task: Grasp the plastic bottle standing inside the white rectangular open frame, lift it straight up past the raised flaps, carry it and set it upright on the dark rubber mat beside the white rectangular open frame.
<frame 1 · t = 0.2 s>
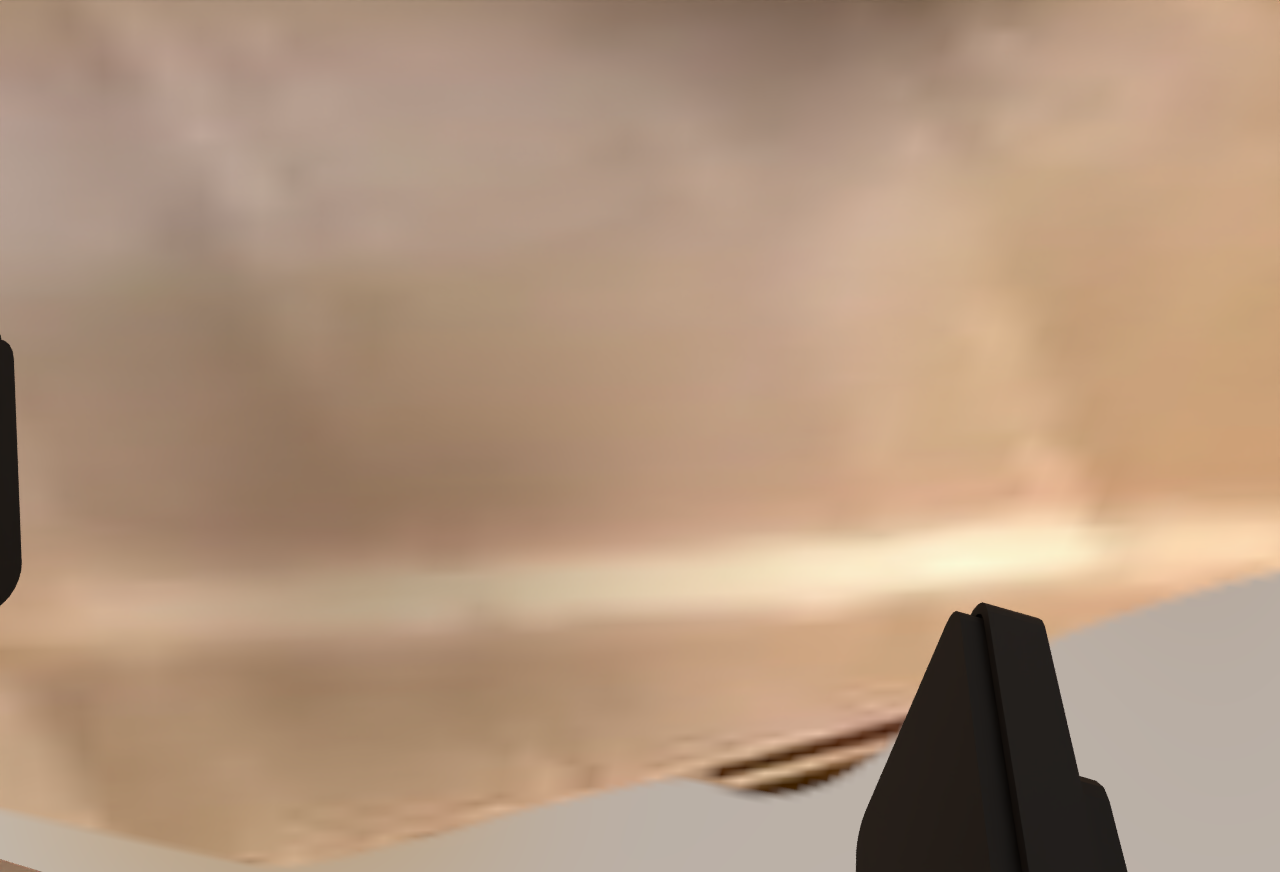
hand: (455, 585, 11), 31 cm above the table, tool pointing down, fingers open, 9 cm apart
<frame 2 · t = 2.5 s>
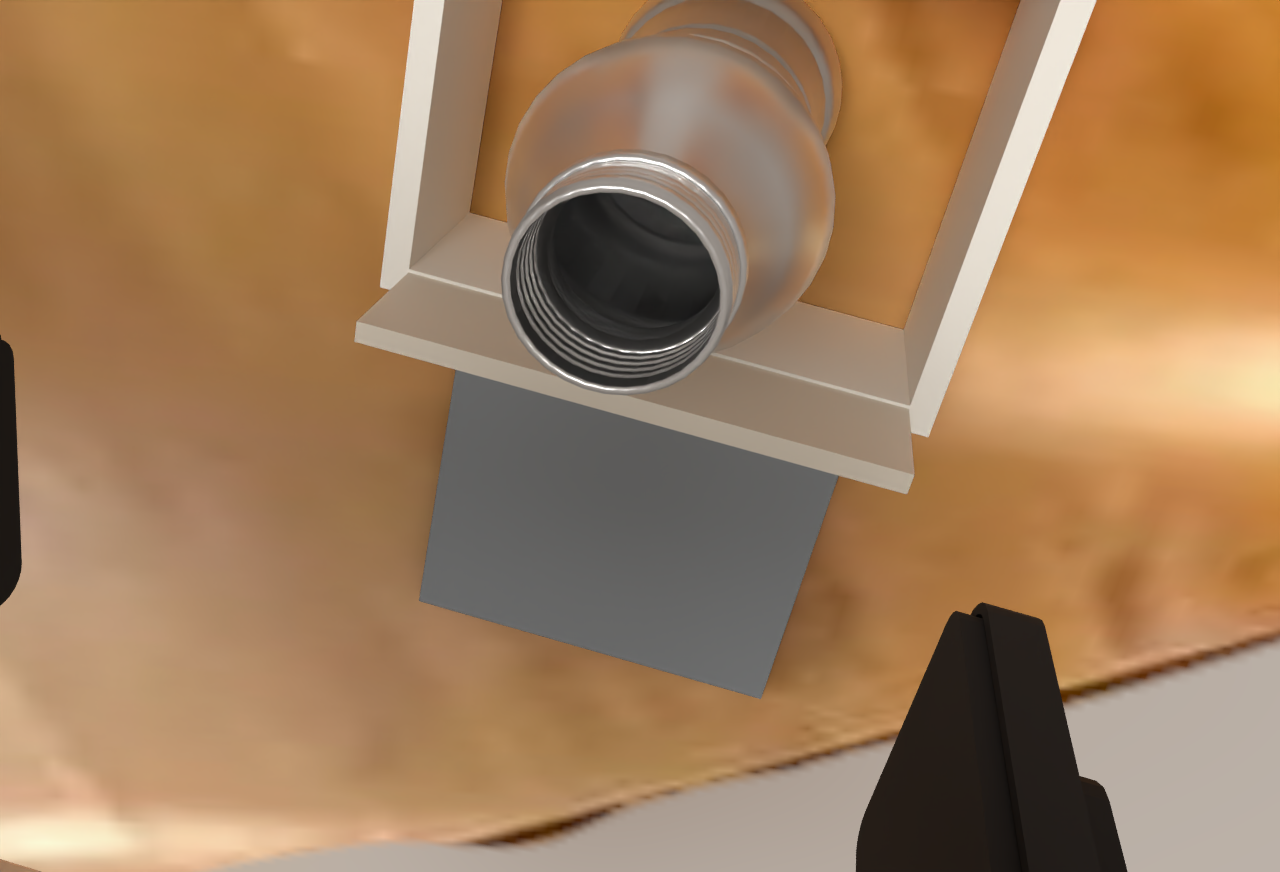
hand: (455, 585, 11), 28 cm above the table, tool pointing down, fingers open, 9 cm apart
plastic bottle: (734, 74, 36), resting in white rectangular open frame
mat: (628, 495, 43), on the table
white rectangular open frame: (733, 75, 36), on the table
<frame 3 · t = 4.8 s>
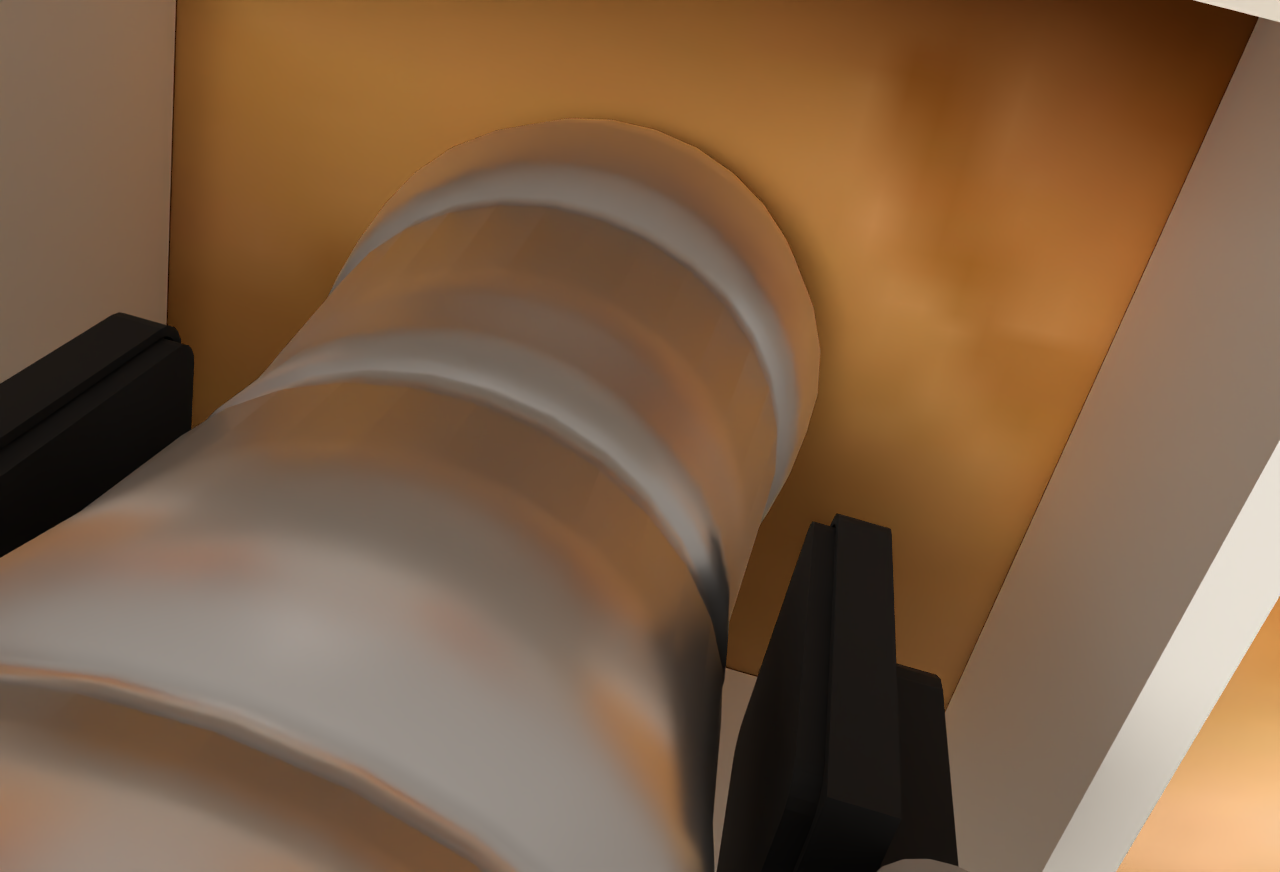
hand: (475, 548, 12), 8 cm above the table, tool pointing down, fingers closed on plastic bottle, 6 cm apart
plastic bottle: (617, 290, 19), resting in white rectangular open frame, touching gripper
white rectangular open frame: (614, 294, 19), on the table
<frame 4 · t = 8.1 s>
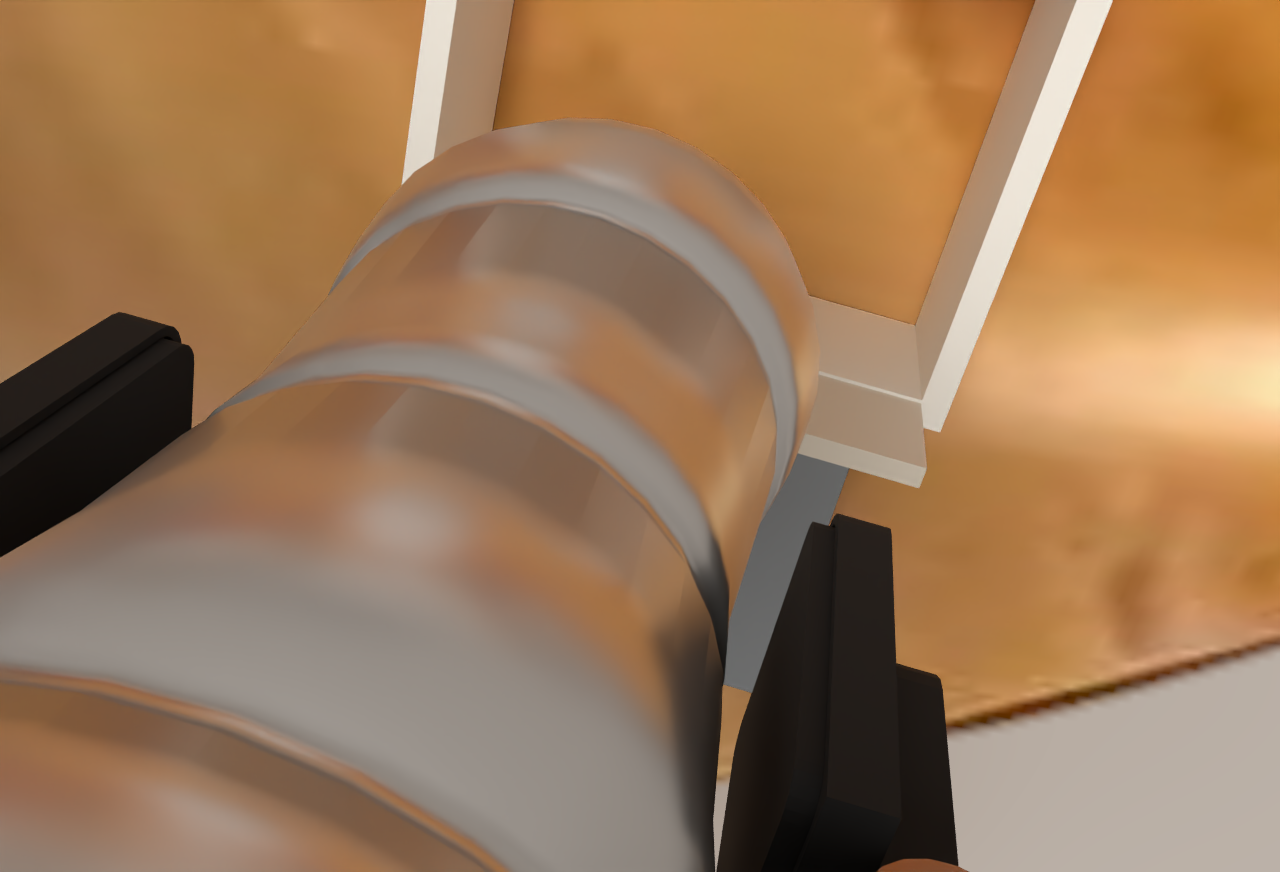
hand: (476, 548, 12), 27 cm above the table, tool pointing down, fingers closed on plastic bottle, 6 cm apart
plastic bottle: (616, 289, 19), point 20 cm above the table, touching gripper
mat: (635, 490, 43), on the table
white rectangular open frame: (747, 67, 36), on the table
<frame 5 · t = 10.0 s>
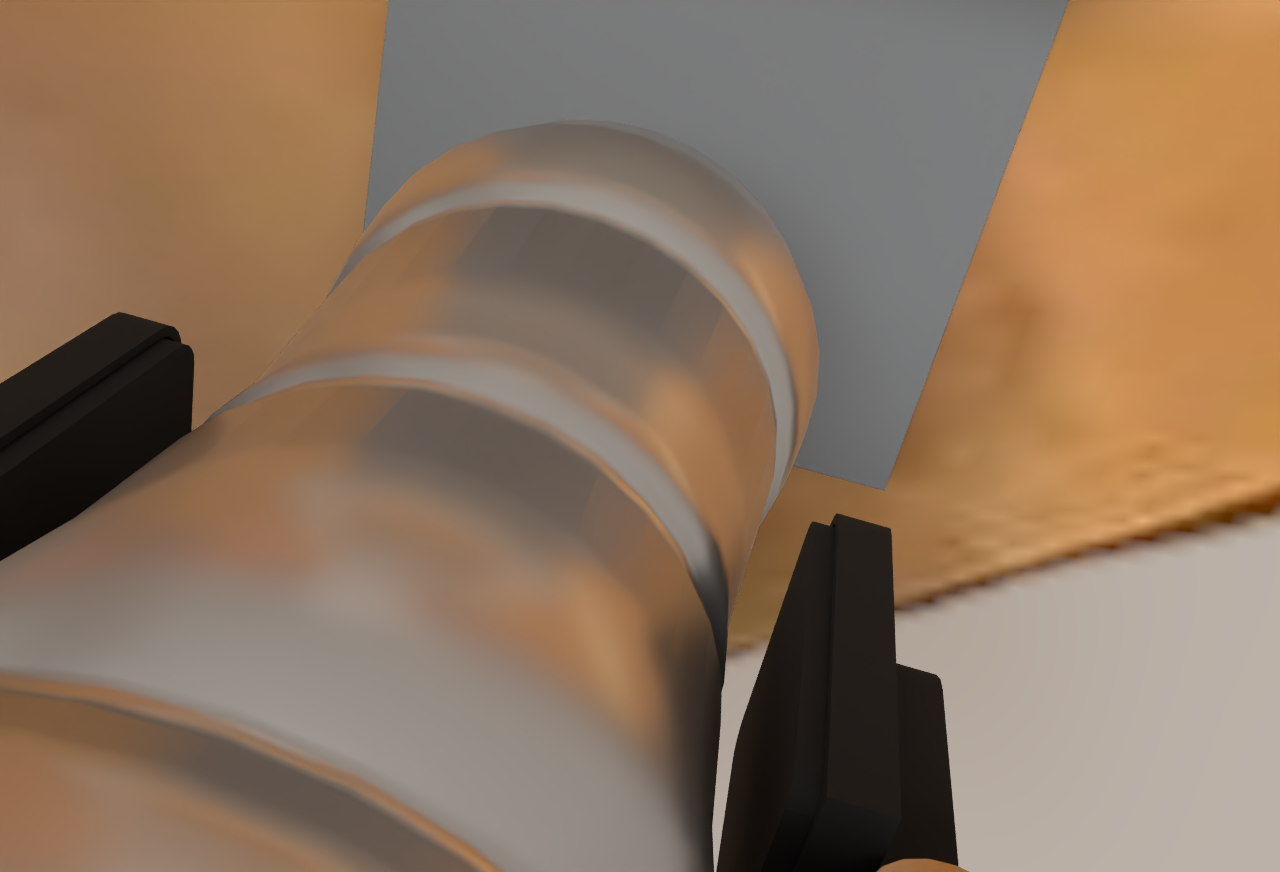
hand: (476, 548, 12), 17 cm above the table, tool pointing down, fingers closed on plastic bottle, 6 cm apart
plastic bottle: (616, 291, 19), point 9 cm above the table, touching gripper
mat: (681, 142, 27), on the table
when the fingers open (10 cm above the table, at t = 11.5 s): plastic bottle drops 2 cm, resting on mat.
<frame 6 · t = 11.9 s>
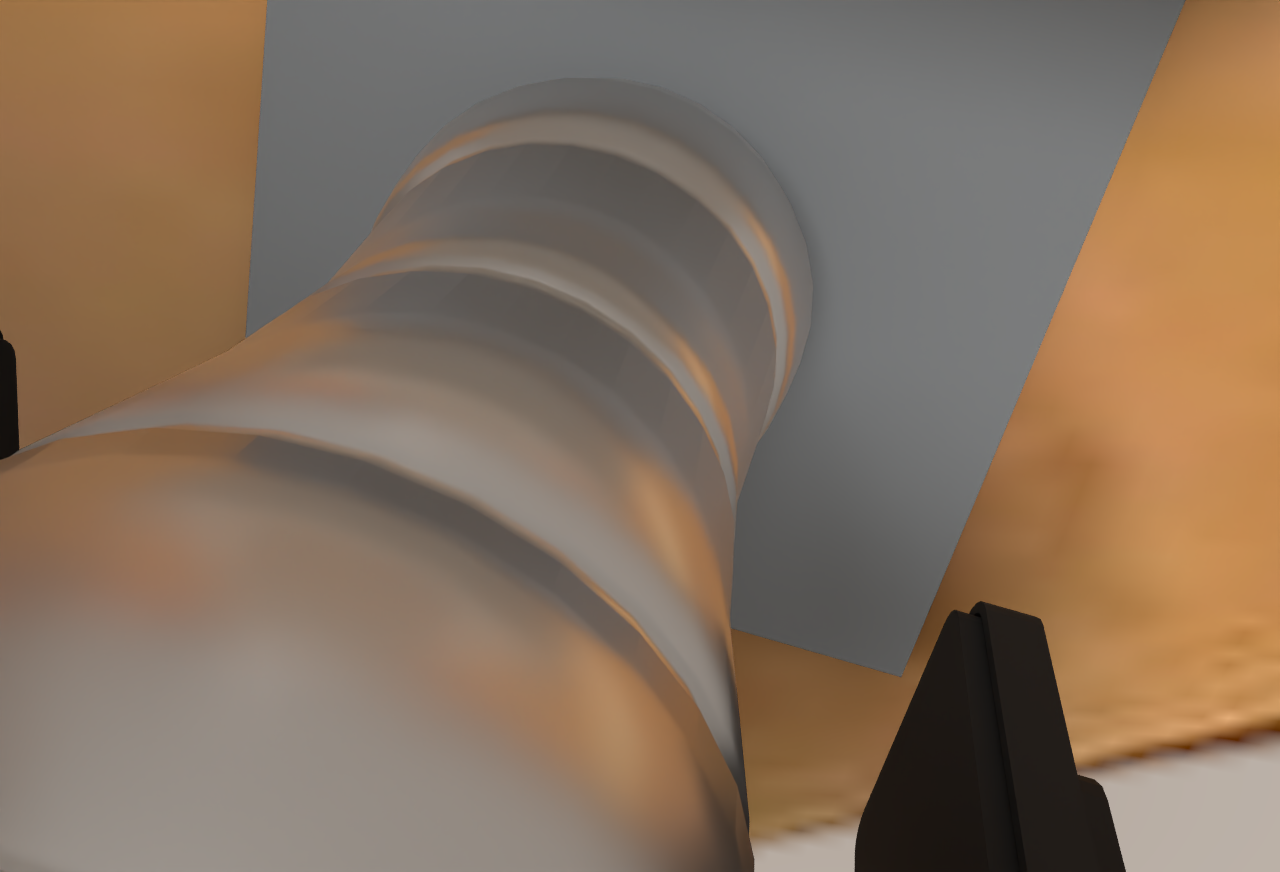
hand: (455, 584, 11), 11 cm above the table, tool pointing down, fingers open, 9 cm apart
plastic bottle: (625, 241, 21), resting on mat
mat: (642, 249, 21), on the table
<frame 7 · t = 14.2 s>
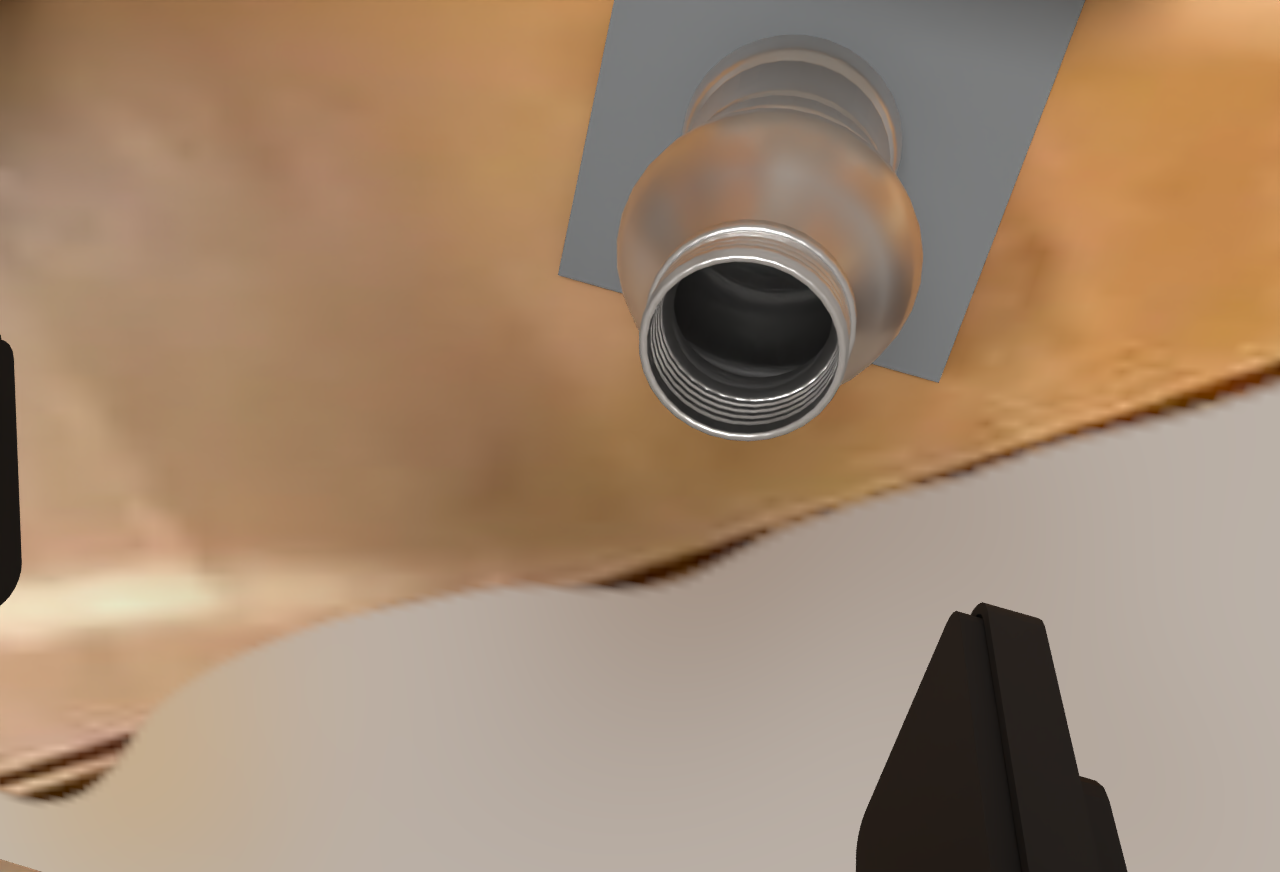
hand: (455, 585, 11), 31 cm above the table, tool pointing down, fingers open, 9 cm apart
plastic bottle: (795, 126, 39), resting on mat
mat: (803, 132, 39), on the table
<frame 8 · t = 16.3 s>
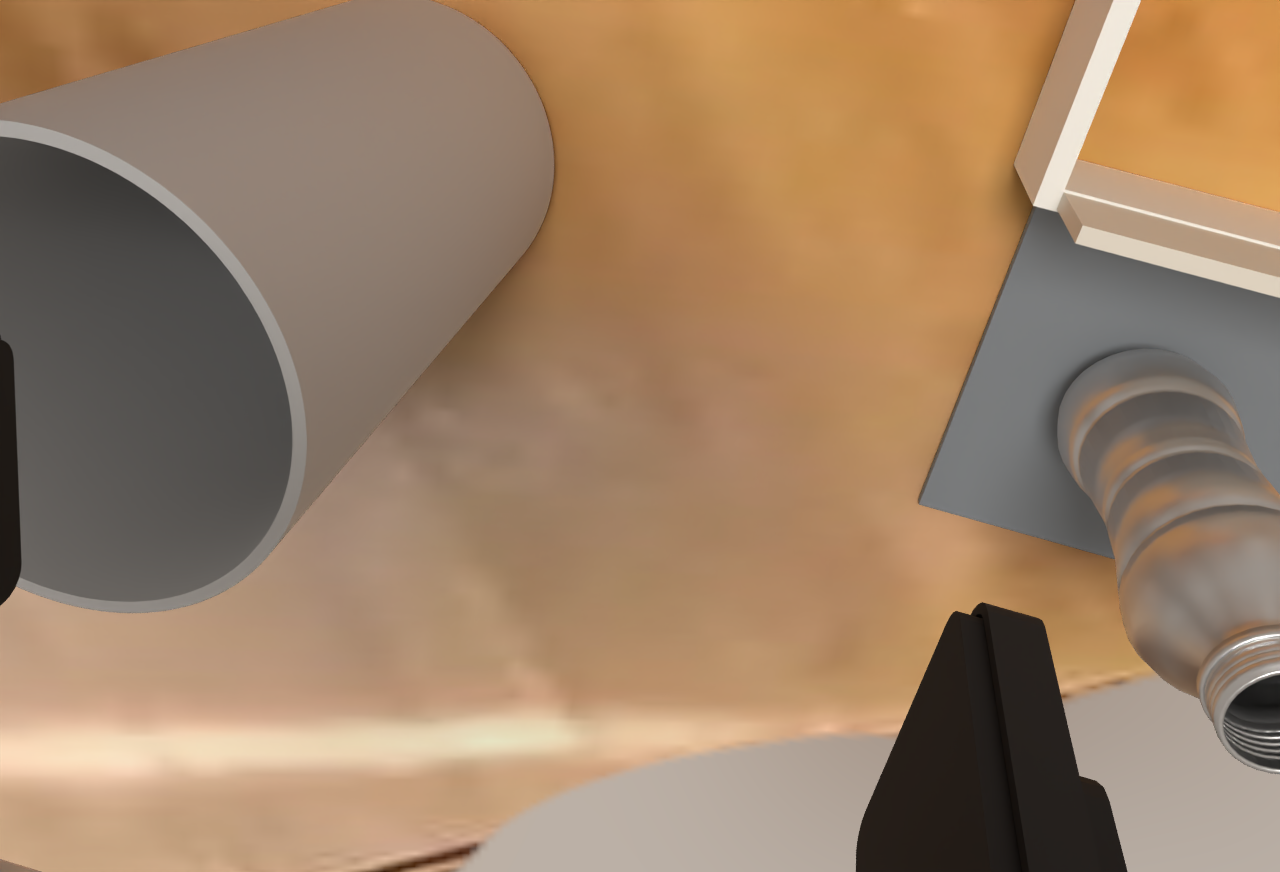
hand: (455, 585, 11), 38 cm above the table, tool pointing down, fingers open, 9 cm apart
plastic bottle: (1132, 402, 49), resting on mat
mat: (1136, 405, 49), on the table
cylinder vase: (416, 148, 50), on the table
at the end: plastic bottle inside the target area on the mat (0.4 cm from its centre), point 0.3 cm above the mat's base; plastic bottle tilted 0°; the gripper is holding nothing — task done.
